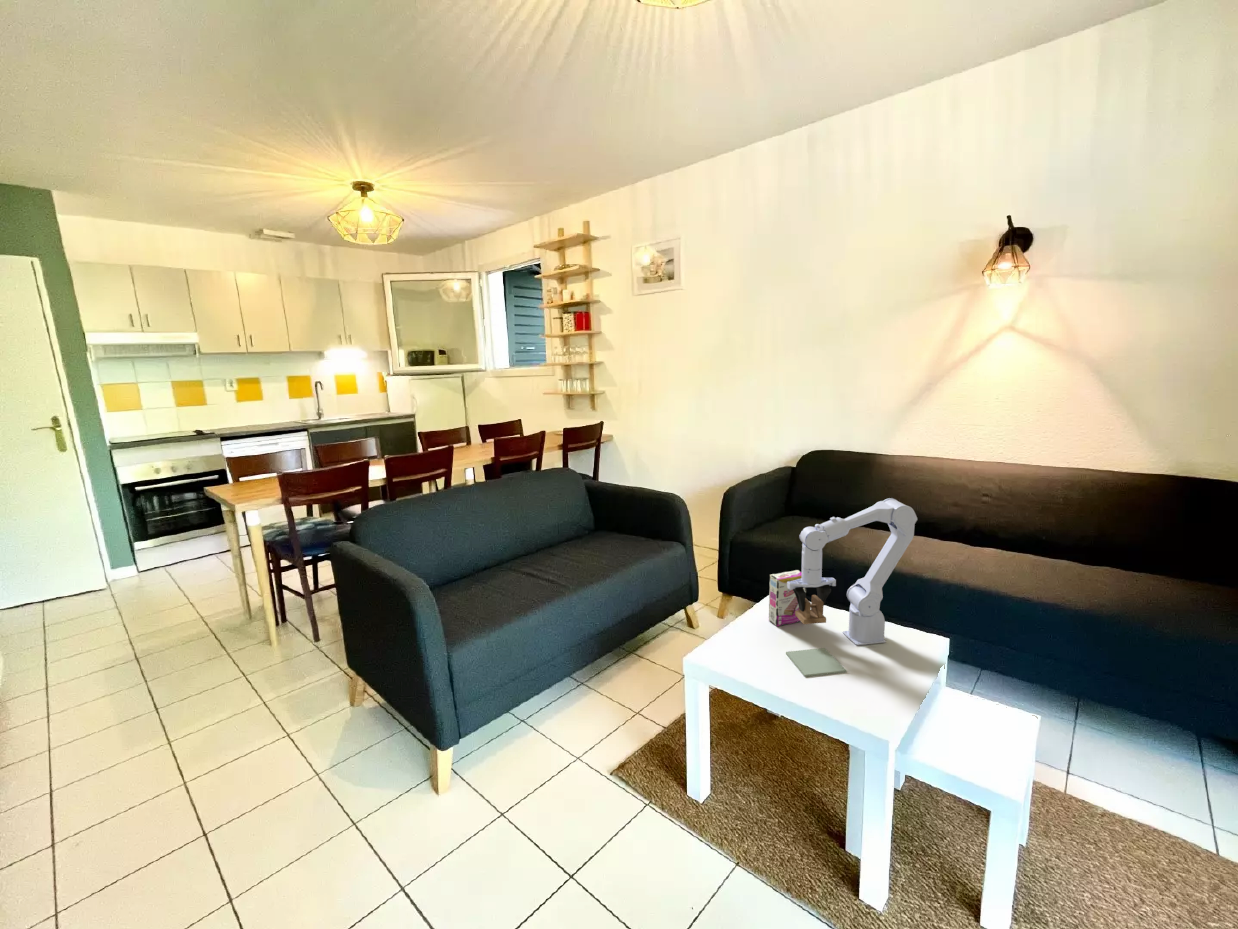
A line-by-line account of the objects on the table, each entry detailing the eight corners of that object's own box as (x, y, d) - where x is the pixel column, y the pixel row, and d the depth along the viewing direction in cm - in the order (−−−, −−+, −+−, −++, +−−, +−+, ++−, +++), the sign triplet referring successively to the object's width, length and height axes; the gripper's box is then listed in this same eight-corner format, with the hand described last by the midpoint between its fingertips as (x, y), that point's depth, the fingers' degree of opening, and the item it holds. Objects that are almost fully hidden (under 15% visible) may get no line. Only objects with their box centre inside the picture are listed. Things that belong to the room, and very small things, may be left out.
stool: (816, 613, 163) (817, 594, 162) (826, 622, 157) (827, 602, 156) (795, 615, 163) (795, 595, 162) (803, 624, 157) (804, 603, 156)
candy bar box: (777, 627, 169) (777, 579, 167) (768, 621, 174) (768, 574, 171) (806, 621, 173) (807, 574, 170) (797, 614, 177) (797, 569, 174)
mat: (824, 649, 155) (824, 647, 155) (846, 672, 143) (846, 670, 143) (785, 653, 154) (785, 652, 154) (804, 677, 142) (804, 674, 142)
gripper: (828, 560, 162) (827, 601, 164) (782, 564, 160) (782, 605, 163) (840, 568, 155) (838, 611, 157) (792, 572, 153) (792, 616, 156)
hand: (810, 609), depth 159 cm, fingers closed on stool, 5 cm apart
